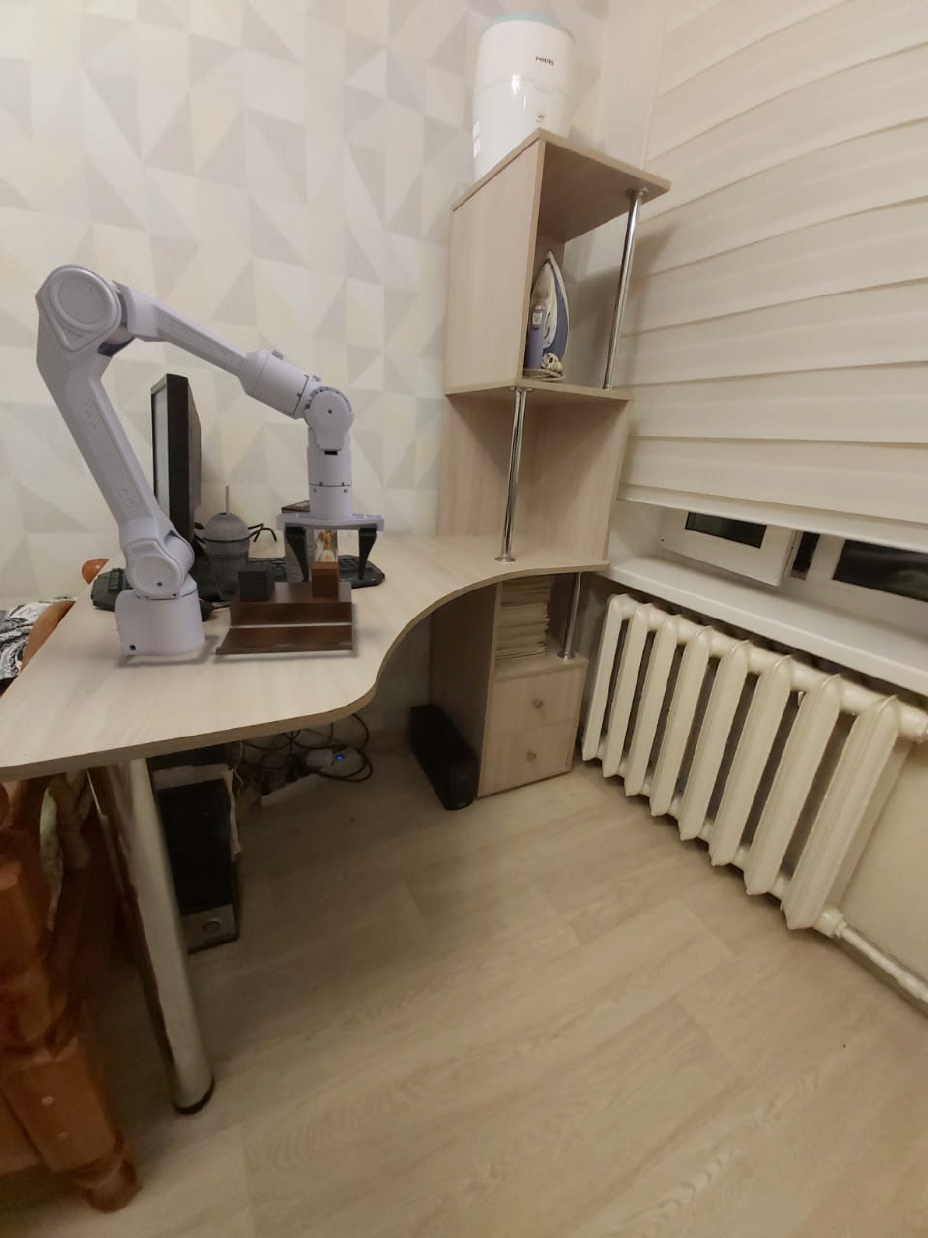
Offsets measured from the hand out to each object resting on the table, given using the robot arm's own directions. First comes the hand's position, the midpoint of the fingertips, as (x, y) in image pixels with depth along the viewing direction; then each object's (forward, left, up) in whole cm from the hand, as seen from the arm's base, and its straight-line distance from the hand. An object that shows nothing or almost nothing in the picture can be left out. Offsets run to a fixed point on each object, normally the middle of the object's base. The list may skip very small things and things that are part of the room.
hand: (334, 578), depth 73 cm
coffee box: (-5, +23, -10) cm, 26 cm away
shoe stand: (-7, +2, -10) cm, 12 cm away
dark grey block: (-12, +8, -5) cm, 16 cm away
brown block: (-2, +10, -5) cm, 11 cm away
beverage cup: (-18, +16, -10) cm, 26 cm away
